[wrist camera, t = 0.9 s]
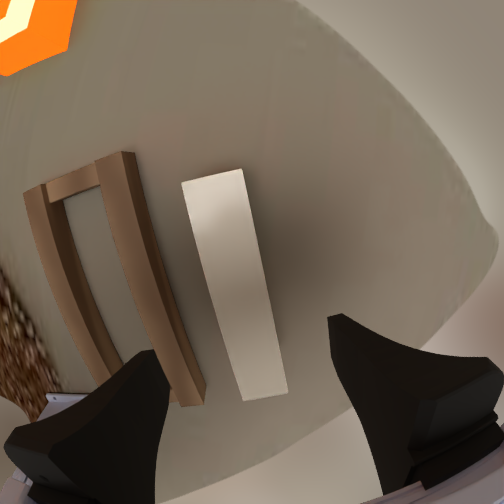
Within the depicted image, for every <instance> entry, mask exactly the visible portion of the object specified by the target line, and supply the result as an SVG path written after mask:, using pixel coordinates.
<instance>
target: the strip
mask: <svg viewBox="0 0 504 504" xmlns="http://www.w3.org/2000/svg"><path fill="white" fill-rule="evenodd" d="M181 184H182V188H183V192H184V197H185V201H186V205H187V209H188V213H189V217H190V221H191V225H192V229H193V233H194V237H195V241H196V245H197V249H198V252H199V256H200V260H201V264H202V267H203V271H204V275H205V278H206V282H207V285H208V289H209V292H210V296H211V299H212V303H213V306H214V310H215V313H216V317H217V320H218V323H219V327H220V330H221V333H222V336H223V340H224V343H225V346H226V349H227V353H228V356H229V359H230V362H231V365H232V368H233V371H234V374H235V377H236V380H237V383H238V387H239V389H240V392H241V395H242V398H243V401H247V400H254V399H259V398H265V397H270V396H276V395H281V394H286V393H288V388H287V383H286V378H285V373H284V368H283V364H282V359H281V354H280V349H279V344H278V339H277V334H276V329H275V324H274V319H273V314H272V310H271V305H270V300H269V295H268V290H267V285H266V281H265V276H264V271H263V266H262V261H261V257H260V252H259V247H258V242H257V238H256V233H255V228H254V223H253V219H252V214H251V209H250V205H249V200H248V195H247V190H246V186H245V181H244V176H243V172H242V169H238V170H233V171H228V172H224V173H220V174H215V175H211V176H207V177H202V178H198V179H194V180H190V181H186V182H182V183H181Z"/></svg>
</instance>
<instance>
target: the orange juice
mask: <svg viewBox="0 0 504 504" xmlns="http://www.w3.org/2000/svg"><path fill="white" fill-rule="evenodd" d="M76 3H77V0H0V74H1V75H4V76H9V75H11V74H13V73H15V72H17V71H19V70H21V69H23V68H25V67H27V66H29V65H32V64H34V63H36V62H38V61H41V60H43V59H46V58H48V57H50V56H53V55H56V54H58V53H61V52H64V51H66V50H67V46H68V41H69V35H70V30H71V25H72V20H73V16H74V11H75V7H76Z"/></svg>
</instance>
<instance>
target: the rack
mask: <svg viewBox="0 0 504 504" xmlns="http://www.w3.org/2000/svg"><path fill="white" fill-rule="evenodd" d="M98 186H100V188H101V193H102V197H103V201H104V205H105V209H106V213H107V216H108V220H109V224H110V227H111V231H112V234H113V238H114V241H115V244H116V248H117V251H118V254H119V257H120V260H121V264H122V267H123V270H124V273H125V276H126V279H127V281H128V284H129V287H130V290H131V293H132V296H133V298H134V301H135V304H136V306H137V309H138V312H139V314H140V317H141V319H142V322H143V324H144V327H145V329H146V332H147V334H148V336H149V339H150V341H151V344H152V346H153V348H154V351H155V353H156V355H157V357H158V360H159V362H160V364H161V366H162V368H163V371H164V373H165V375H166V377H167V379H168V381H169V383H170V397H169V402H179V403H180V405H181V407H185V406H196V405H204V399H205V391H206V384H205V381H204V379H203V376H202V374H201V372H200V369H199V366H198V364H197V361H196V359H195V356H194V354H193V351H192V348H191V346H190V343H189V340H188V338H187V335H186V332H185V329H184V327H183V324H182V321H181V318H180V315H179V312H178V309H177V306H176V303H175V301H174V298H173V294H172V291H171V288H170V285H169V282H168V279H167V276H166V273H165V269H164V266H163V263H162V259H161V256H160V253H159V249H158V246H157V242H156V239H155V235H154V232H153V228H152V224H151V221H150V217H149V213H148V209H147V205H146V201H145V197H144V193H143V189H142V185H141V181H140V176H139V172H138V167H137V163H136V158H135V153H132V152H123V151H120V152H118V153H115V154H112V155H109V156H107V157H104V158H101V159H99V160H96V161H95V163H93V164H90V165H88V166H85V167H83V168H80V169H78V170H76V171H73V172H71V173H68V174H66V175H64V176H62V177H59V178H57V179H55V180H53V181H50V182H48V183H46V184H41V185H38V186H36V187H34V188H32V189H30V190H28V191H26V192H24V193H23V196H24V201H25V205H26V209H27V214H28V218H29V222H30V225H31V229H32V233H33V236H34V240H35V243H36V246H37V250H38V253H39V256H40V259H41V262H42V265H43V268H44V271H45V274H46V276H47V279H48V282H49V285H50V287H51V290H52V292H53V295H54V297H55V300H56V302H57V305H58V307H59V310H60V312H61V314H62V317H63V319H64V321H65V323H66V325H67V328H68V330H69V332H70V334H71V336H72V338H73V340H74V342H75V344H76V346H77V348H78V350H79V352H80V354H81V356H82V358H83V360H84V362H85V364H86V365H87V367H88V369H89V371H90V373H91V374H92V376H93V378H94V380H95V381H96V383H97V385H98V386H101V385H102V384H103V383H104V382H105V381H107V380H108V379H109V378H110V377H111V376H113V375H114V374H115V373H116V372H117V371H118V370H119V369H120V368H122V367H123V364H122V362H121V360H120V358H119V356H118V354H117V352H116V350H115V347H114V345H113V343H112V341H111V339H110V337H109V335H108V332H107V330H106V328H105V326H104V323H103V321H102V319H101V316H100V314H99V311H98V309H97V307H96V304H95V302H94V299H93V297H92V294H91V291H90V289H89V286H88V283H87V281H86V278H85V275H84V272H83V269H82V266H81V263H80V260H79V257H78V254H77V251H76V248H75V245H74V241H73V238H72V235H71V231H70V228H69V224H68V220H67V217H66V213H65V209H64V205H63V201H62V200H64V199H66V198H69V197H71V196H74V195H76V194H79V193H82V192H84V191H87V190H90V189H93V188H95V187H98Z"/></svg>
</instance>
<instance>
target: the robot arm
mask: <svg viewBox="0 0 504 504" xmlns="http://www.w3.org/2000/svg"><path fill="white" fill-rule="evenodd" d="M327 319H328V329H329V339H330V350H331V358H332V361H333V364H334V367H335V370H336V372H337V375H338V377H339V379H340V381H341V383H342V385H343V387H344V389H345V391H346V393H347V395H348V397H349V399H350V401H351V403H352V405H353V407H354V409H355V411H356V413H357V415H358V417H359V419H360V421H361V424H362V426H363V429H364V432H365V435H366V438H367V441H368V444H369V446H370V449H371V452H372V456H373V459H374V463H375V465H376V469H377V473H378V477H379V480H380V484H381V488H382V492H383V496H382V497H379V498H376V499H373V500H370V501H367V502H364V503H361V504H504V423H503V424H502V425H501V427H499V425H498V424H497V423H496V421H497V419H498V415H497V414H496V413H495V412H494V410H493V409H494V407H495V405H496V403H497V401H498V398H499V396H500V394H501V391H502V388H503V385H504V374H503V372H502V371H501V370H500V369H499V368H498V367H497V366H496V365H495V364H494V363H493V362H492V361H491V360H490V359H489V358H487V357H457V356H448V355H440V354H435V353H430V352H426V351H421V350H418V349H414V348H411V347H408V346H405V345H402V344H399V343H397V342H394V341H392V340H390V339H388V338H385V337H383V336H381V335H379V334H377V333H375V332H373V331H371V330H370V329H368V328H366V327H364V326H362V325H361V324H359V323H357V322H356V321H354V320H352V319H351V318H349V317H347V316H346V315H344V314H342V313H341V314H337V315H333V316H330V317H327ZM169 397H170V383H169V381H168V379H167V377H166V375H165V373H164V371H163V369H162V366H161V364H160V362H159V360H158V358H157V355H156V353H155V351H154V349H153V350H145V351H141V352H139V353H138V354H136V355H135V356H134V357H133V358H132V359H131V360H129V361H128V362H127V363H126V364H125V365H124V366H123V367H122V368H120V369H119V370H118V371H117V372H116V373H115V374H114V375H113V376H111V377H110V378H109V379H108V380H107V381H105V382H104V383H103V384H102V385H101V386H99V387H98V388H97V389H96V390H94V391H93V392H92V393H90V394H89V395H83V394H55V393H47V395H46V398H47V399H48V401H49V403H48V404H47V406H46V407H45V409H44V410H43V412H42V413H41V415H40V417H39V418H38V420H37V421H36V422H33V423H30V424H27V425H23V426H19V427H16V428H15V429H14V430H13V431H12V433H11V434H10V436H9V437H8V439H7V441H6V442H5V444H4V450H5V452H6V454H7V455H8V457H9V458H10V459H11V461H12V462H13V463H14V464H15V465H16V466H17V468H16V470H15V472H14V474H13V475H12V477H8V479H7V480H6V482H5V484H4V486H3V488H2V490H1V492H0V504H155V471H156V460H157V452H158V446H159V442H160V438H161V434H162V430H163V426H164V422H165V418H166V414H167V410H168V405H169Z"/></svg>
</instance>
